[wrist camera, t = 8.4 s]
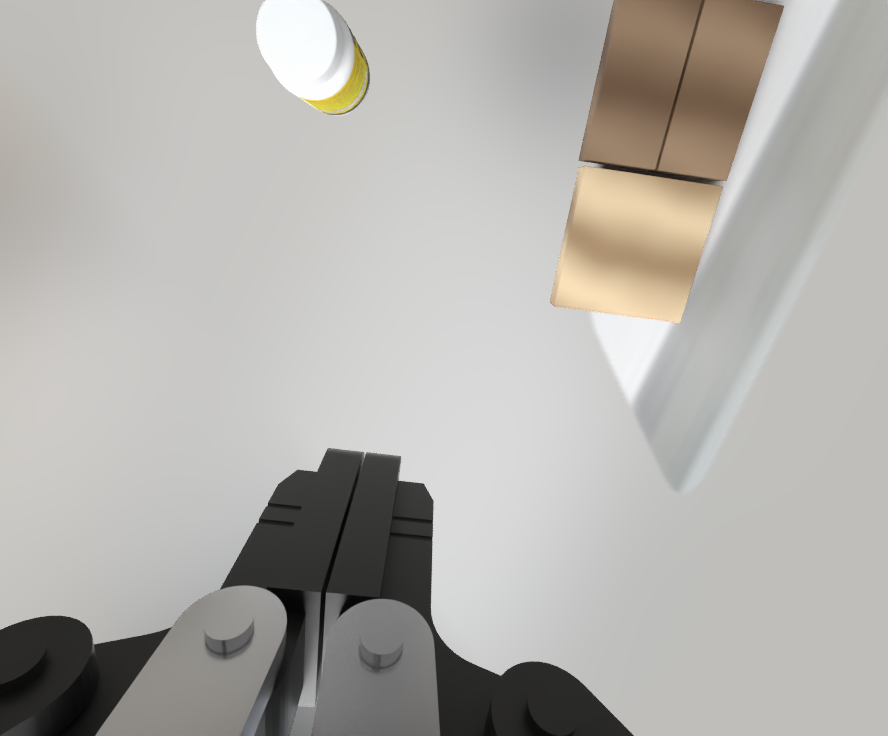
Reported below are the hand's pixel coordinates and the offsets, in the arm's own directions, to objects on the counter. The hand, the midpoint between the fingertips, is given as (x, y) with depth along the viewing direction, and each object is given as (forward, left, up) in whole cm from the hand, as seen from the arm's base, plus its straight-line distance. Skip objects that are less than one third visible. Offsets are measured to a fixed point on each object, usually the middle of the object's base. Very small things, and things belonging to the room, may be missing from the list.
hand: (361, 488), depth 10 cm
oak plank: (-4, +15, -27) cm, 31 cm away
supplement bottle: (-12, -7, -27) cm, 31 cm away
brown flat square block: (-14, +15, -27) cm, 34 cm away
